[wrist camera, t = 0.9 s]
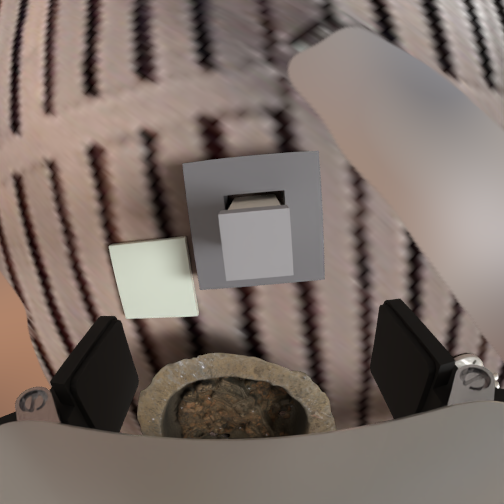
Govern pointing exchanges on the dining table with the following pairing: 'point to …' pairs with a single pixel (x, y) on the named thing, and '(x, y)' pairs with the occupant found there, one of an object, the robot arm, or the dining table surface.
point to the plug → (256, 238)
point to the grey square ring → (252, 181)
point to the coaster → (155, 278)
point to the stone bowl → (232, 400)
